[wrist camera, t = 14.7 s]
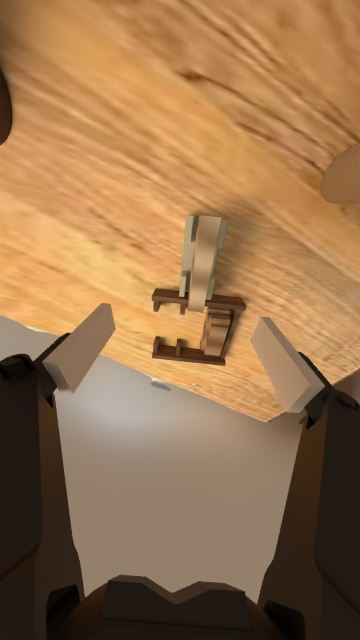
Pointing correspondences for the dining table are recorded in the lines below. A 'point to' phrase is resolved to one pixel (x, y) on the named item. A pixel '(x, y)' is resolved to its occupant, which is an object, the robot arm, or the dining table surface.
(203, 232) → the plywood sheet
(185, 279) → the display stand
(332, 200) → the coffee cup
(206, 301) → the rack
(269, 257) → the dining table surface
